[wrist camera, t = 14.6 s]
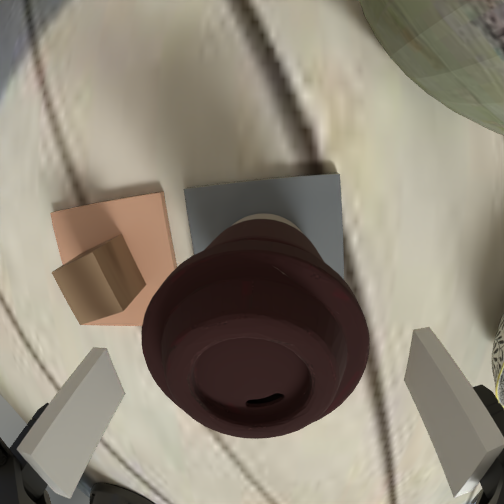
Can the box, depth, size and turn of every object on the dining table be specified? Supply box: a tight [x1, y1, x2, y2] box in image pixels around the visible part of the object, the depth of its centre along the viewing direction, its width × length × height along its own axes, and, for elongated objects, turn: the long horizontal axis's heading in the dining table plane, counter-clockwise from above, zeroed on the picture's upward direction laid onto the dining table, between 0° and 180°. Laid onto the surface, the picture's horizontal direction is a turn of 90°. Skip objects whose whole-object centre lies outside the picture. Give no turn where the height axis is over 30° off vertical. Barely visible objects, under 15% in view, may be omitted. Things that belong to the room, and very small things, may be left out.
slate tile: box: [184, 173, 344, 280], centre depth 26 cm, size 12×12×1 cm
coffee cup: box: [142, 213, 369, 439], centre depth 18 cm, size 10×10×15 cm
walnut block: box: [52, 234, 146, 325], centre depth 24 cm, size 5×5×5 cm
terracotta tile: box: [50, 191, 177, 326], centre depth 27 cm, size 12×12×1 cm
